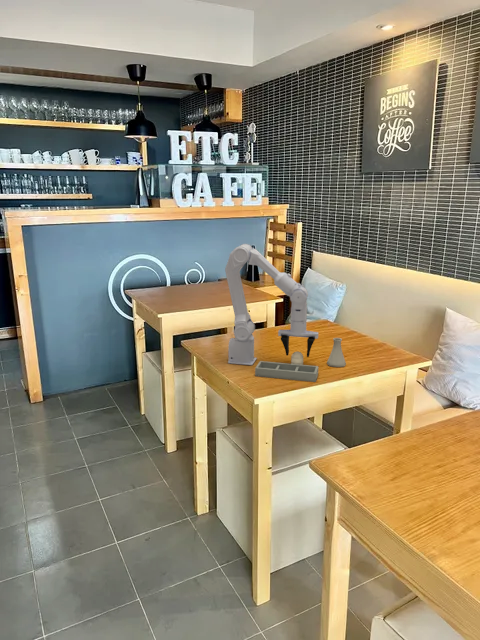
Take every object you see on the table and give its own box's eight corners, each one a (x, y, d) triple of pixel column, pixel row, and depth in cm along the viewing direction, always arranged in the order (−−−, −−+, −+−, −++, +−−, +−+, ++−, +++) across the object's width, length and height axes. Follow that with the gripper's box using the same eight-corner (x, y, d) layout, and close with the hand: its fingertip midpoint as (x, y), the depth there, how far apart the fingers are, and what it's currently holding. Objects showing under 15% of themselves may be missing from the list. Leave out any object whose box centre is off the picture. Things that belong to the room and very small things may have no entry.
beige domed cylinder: (290, 366, 182) (290, 353, 180) (292, 363, 186) (292, 349, 185) (302, 368, 181) (302, 354, 179) (303, 364, 185) (304, 350, 184)
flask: (344, 361, 188) (346, 336, 185) (347, 368, 181) (348, 342, 178) (325, 360, 188) (326, 335, 186) (327, 367, 181) (328, 341, 179)
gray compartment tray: (255, 376, 173) (255, 368, 172) (259, 368, 180) (259, 361, 179) (315, 382, 167) (316, 373, 167) (318, 374, 174) (318, 366, 174)
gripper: (319, 318, 181) (318, 353, 184) (280, 316, 184) (280, 350, 188) (317, 323, 174) (316, 359, 178) (277, 320, 178) (276, 356, 181)
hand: (297, 355), depth 182 cm, fingers open, 7 cm apart
